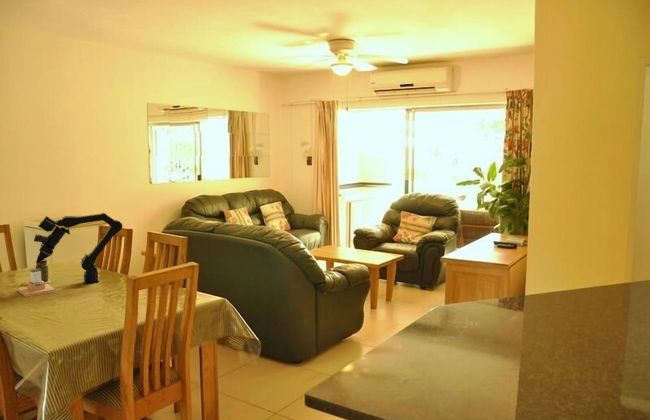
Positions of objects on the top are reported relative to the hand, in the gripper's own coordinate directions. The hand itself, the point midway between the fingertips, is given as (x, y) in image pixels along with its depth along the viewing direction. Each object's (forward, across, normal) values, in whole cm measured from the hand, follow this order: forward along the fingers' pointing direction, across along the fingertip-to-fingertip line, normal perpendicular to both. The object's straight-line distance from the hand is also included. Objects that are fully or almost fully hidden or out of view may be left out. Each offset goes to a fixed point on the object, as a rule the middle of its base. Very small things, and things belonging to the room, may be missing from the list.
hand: (37, 260), depth 269 cm
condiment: (+12, -13, +10) cm, 20 cm away
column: (+11, +9, +7) cm, 16 cm away
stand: (+12, +9, +8) cm, 17 cm away
